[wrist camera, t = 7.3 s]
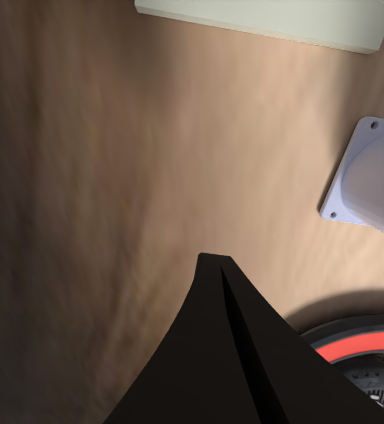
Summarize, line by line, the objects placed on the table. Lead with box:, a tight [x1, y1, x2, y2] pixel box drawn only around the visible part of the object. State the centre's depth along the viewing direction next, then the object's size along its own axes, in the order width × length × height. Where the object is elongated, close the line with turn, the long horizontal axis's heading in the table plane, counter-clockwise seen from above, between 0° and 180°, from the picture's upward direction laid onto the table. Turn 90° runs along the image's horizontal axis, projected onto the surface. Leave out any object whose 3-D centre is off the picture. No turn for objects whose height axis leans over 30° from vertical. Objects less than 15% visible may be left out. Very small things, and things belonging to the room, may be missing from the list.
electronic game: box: [300, 315, 384, 408], centre depth 24 cm, size 23×23×5 cm
